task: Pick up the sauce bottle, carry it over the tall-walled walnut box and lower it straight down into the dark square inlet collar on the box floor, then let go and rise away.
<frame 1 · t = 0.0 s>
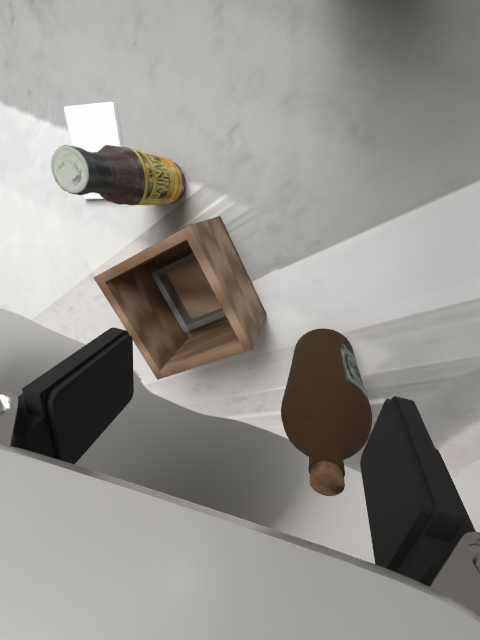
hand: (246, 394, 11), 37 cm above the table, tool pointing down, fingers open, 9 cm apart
external hard drive: (103, 155, 47), on the table
olive oil: (323, 353, 51), on the table
sauce bottle: (168, 180, 46), on the table
walled box: (202, 286, 51), on the table
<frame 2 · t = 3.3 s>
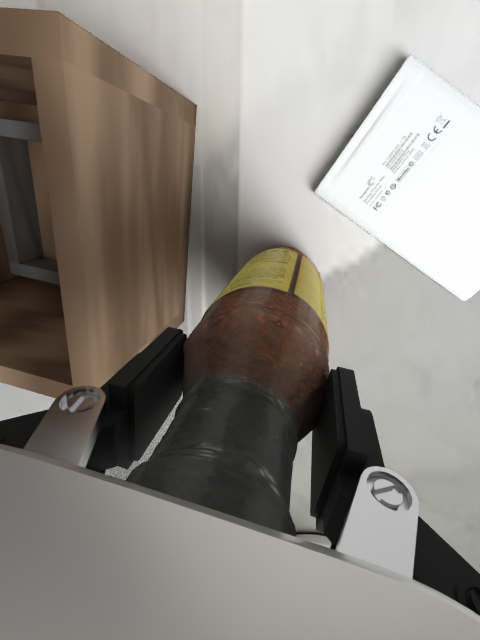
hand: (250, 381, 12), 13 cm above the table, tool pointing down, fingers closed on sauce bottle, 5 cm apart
external hard drive: (431, 191, 20), on the table
sauce bottle: (284, 285, 24), on the table, touching gripper
walled box: (91, 211, 25), on the table
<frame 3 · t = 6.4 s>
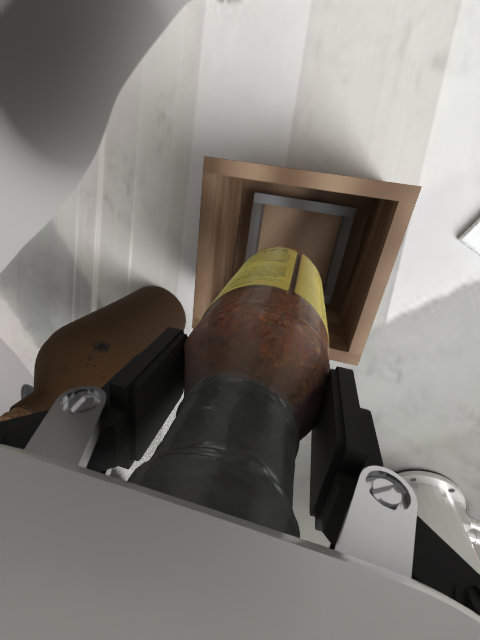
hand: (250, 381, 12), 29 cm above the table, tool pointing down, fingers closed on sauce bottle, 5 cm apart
olive oil: (157, 314, 47), on the table
sauce bottle: (283, 283, 24), point 16 cm above the table, touching gripper
walled box: (295, 245, 38), on the table
when the fingers open (15 cm above the table, at t = 9.4 s): sauce bottle drops 1 cm, resting on walled box.
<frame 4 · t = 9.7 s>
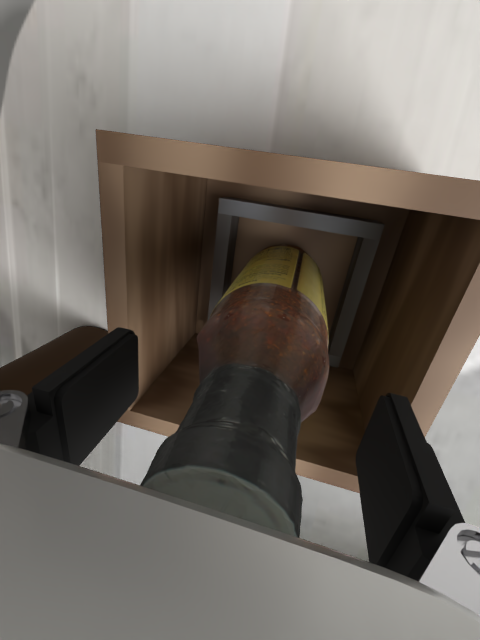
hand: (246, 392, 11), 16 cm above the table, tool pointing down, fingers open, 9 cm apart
olive oil: (101, 362, 34), on the table
sauce bottle: (285, 280, 25), point 1 cm above the table, touching walled box
walled box: (286, 276, 25), on the table
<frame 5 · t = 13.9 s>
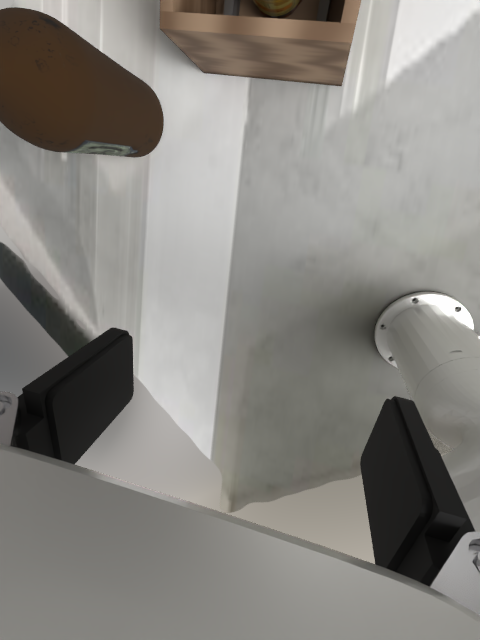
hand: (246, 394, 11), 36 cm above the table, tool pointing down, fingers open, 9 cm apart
olive oil: (133, 120, 42), on the table
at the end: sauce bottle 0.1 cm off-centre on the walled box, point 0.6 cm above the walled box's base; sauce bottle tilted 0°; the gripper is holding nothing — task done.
